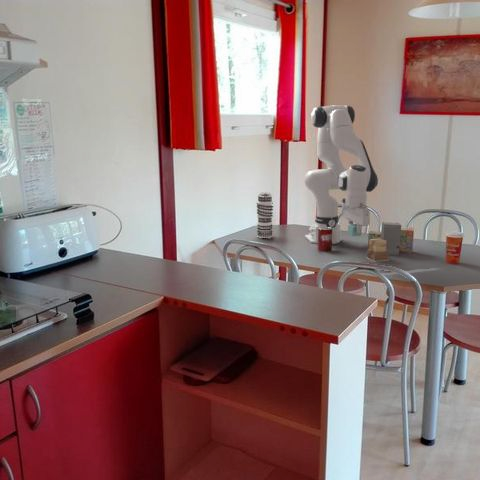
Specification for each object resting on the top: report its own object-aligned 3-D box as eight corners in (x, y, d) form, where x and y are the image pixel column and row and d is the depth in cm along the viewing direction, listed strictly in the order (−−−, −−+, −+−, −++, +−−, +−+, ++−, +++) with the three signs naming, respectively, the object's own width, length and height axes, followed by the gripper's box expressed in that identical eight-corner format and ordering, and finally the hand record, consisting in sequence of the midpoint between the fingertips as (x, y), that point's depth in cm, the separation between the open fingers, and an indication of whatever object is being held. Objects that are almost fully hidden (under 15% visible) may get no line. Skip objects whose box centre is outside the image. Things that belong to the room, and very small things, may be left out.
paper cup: (440, 262, 246) (442, 232, 242) (447, 259, 251) (450, 230, 248) (457, 265, 240) (459, 235, 237) (464, 262, 246) (467, 232, 242)
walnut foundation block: (366, 257, 251) (367, 249, 250) (380, 256, 253) (380, 248, 252) (374, 261, 245) (375, 252, 244) (388, 260, 247) (388, 251, 246)
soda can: (314, 250, 269) (315, 227, 267) (327, 249, 272) (328, 226, 269) (321, 253, 263) (322, 230, 260) (334, 252, 265) (335, 228, 262)
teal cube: (347, 233, 248) (348, 224, 247) (356, 233, 249) (357, 223, 248) (352, 236, 244) (352, 226, 243) (361, 235, 245) (361, 226, 244)
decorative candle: (256, 235, 304) (256, 191, 298) (272, 235, 304) (273, 191, 298) (256, 238, 295) (256, 194, 290) (273, 238, 295) (273, 194, 289)
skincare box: (382, 256, 257) (383, 224, 253) (379, 252, 263) (381, 221, 260) (400, 256, 256) (402, 224, 252) (396, 253, 263) (398, 221, 259)
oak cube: (369, 249, 250) (369, 239, 249) (379, 248, 251) (380, 238, 250) (375, 252, 245) (375, 241, 243) (385, 251, 246) (386, 240, 245)
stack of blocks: (367, 251, 267) (368, 227, 265) (368, 248, 273) (370, 224, 270) (411, 254, 260) (413, 230, 257) (412, 251, 266) (414, 227, 263)
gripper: (374, 205, 234) (372, 236, 237) (352, 197, 253) (350, 225, 256) (361, 206, 232) (359, 237, 236) (340, 198, 251) (338, 226, 255)
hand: (354, 231), depth 246 cm, fingers closed on teal cube, 4 cm apart
